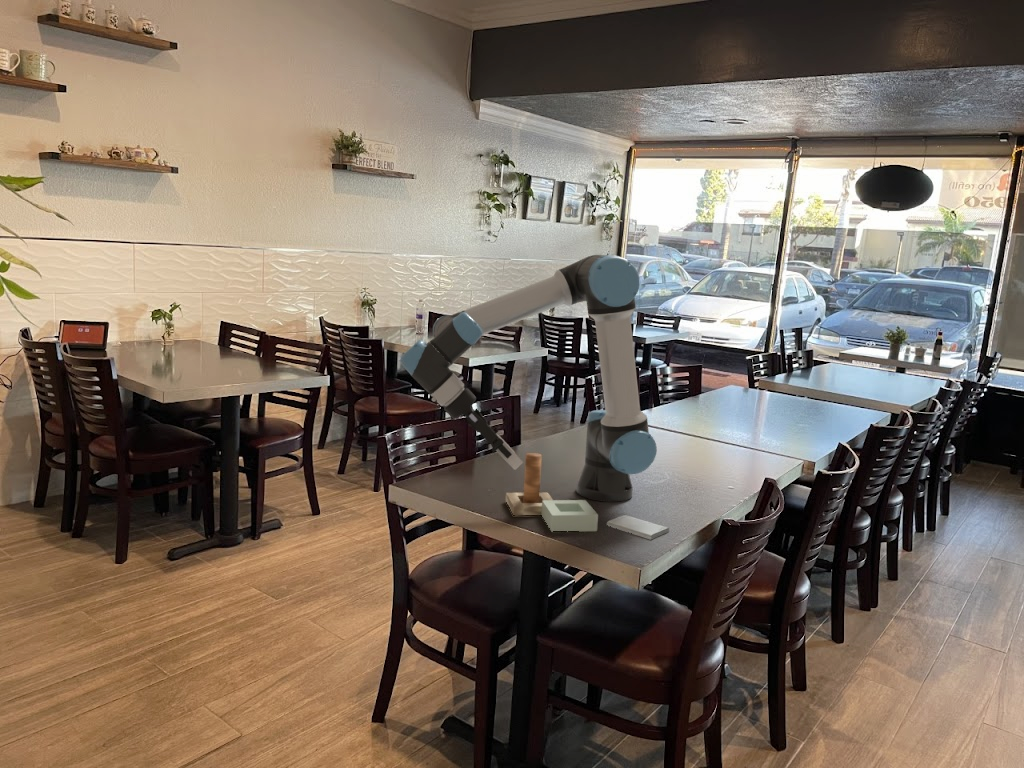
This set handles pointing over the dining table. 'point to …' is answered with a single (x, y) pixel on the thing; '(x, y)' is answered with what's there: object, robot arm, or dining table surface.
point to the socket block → (569, 515)
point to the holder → (525, 504)
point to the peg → (532, 478)
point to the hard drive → (638, 527)
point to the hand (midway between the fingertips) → (515, 461)
